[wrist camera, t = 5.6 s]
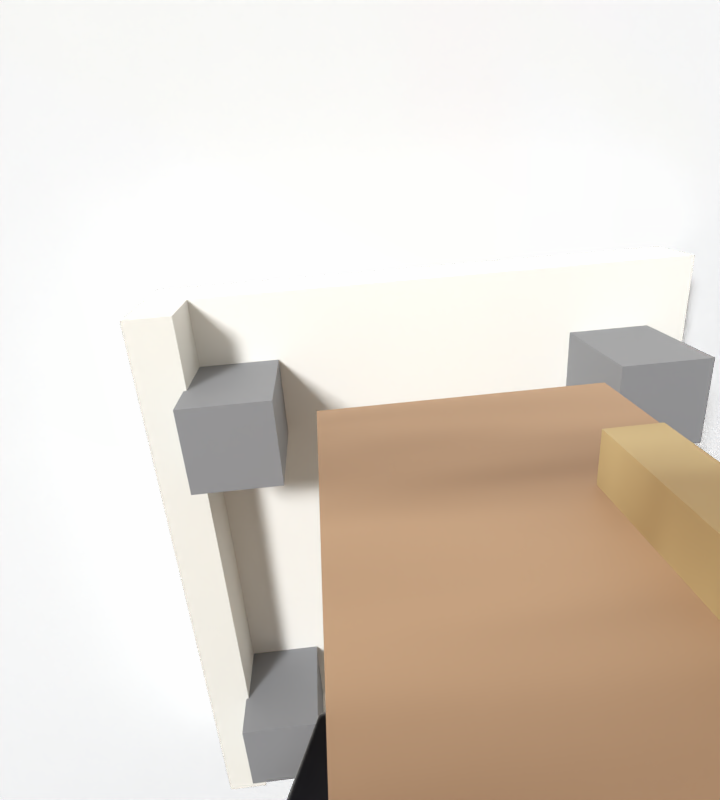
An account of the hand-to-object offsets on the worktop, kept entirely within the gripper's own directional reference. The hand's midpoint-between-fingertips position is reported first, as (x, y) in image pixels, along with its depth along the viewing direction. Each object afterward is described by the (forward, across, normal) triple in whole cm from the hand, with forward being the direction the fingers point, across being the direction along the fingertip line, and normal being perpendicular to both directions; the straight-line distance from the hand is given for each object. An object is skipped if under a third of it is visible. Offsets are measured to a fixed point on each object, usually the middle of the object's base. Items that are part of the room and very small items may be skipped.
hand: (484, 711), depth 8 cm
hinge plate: (+6, 0, 0) cm, 6 cm away
